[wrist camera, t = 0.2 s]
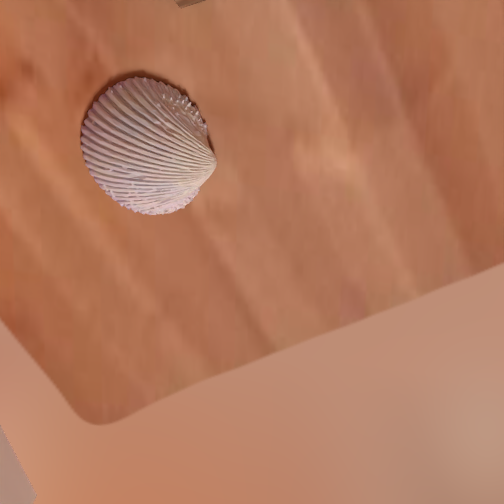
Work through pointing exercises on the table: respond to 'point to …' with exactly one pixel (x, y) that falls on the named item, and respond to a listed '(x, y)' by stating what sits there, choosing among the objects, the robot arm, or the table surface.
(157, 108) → the seashell
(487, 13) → the table surface
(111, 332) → the table surface
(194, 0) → the frame
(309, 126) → the table surface
